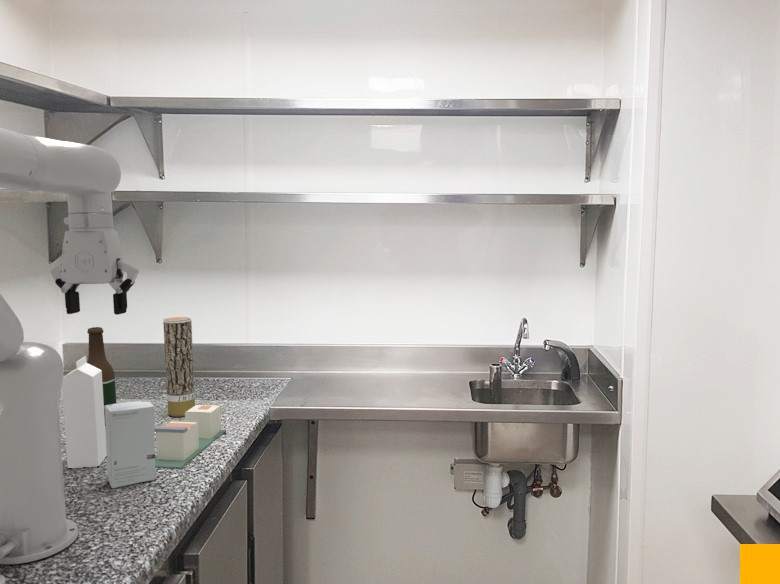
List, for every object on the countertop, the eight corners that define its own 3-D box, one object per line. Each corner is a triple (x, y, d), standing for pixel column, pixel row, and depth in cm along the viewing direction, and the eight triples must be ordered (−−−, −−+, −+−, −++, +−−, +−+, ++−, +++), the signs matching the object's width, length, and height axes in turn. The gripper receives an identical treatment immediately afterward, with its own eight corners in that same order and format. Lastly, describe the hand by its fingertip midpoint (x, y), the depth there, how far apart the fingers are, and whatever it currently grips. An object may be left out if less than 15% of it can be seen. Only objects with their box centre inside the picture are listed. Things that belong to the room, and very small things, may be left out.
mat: (180, 468, 126) (180, 467, 126) (143, 466, 127) (143, 465, 127) (225, 431, 148) (225, 430, 148) (194, 430, 149) (193, 428, 149)
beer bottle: (113, 426, 153) (107, 329, 150) (79, 428, 151) (73, 331, 149) (121, 416, 160) (116, 324, 158) (89, 418, 159) (83, 325, 156)
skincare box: (111, 489, 116) (106, 412, 114) (106, 478, 121) (102, 404, 119) (158, 479, 120) (154, 404, 119) (151, 469, 126) (148, 397, 124)
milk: (107, 456, 133) (101, 355, 131) (98, 467, 127) (92, 361, 125) (76, 458, 132) (70, 356, 130) (66, 469, 126) (60, 362, 124)
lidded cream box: (185, 461, 129) (184, 429, 128) (154, 459, 130) (153, 428, 129) (200, 448, 136) (199, 418, 135) (171, 447, 137) (169, 417, 136)
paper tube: (162, 416, 161) (157, 320, 158) (180, 408, 167) (175, 316, 164) (183, 418, 158) (179, 321, 155) (200, 411, 164) (196, 317, 162)
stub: (210, 438, 142) (209, 412, 142) (186, 437, 143) (184, 412, 142) (221, 430, 148) (220, 405, 148) (197, 429, 149) (196, 404, 148)
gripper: (35, 223, 115) (42, 315, 117) (123, 222, 112) (128, 316, 114) (62, 223, 122) (67, 310, 124) (144, 223, 120) (149, 311, 122)
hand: (96, 313), depth 119 cm, fingers open, 9 cm apart
